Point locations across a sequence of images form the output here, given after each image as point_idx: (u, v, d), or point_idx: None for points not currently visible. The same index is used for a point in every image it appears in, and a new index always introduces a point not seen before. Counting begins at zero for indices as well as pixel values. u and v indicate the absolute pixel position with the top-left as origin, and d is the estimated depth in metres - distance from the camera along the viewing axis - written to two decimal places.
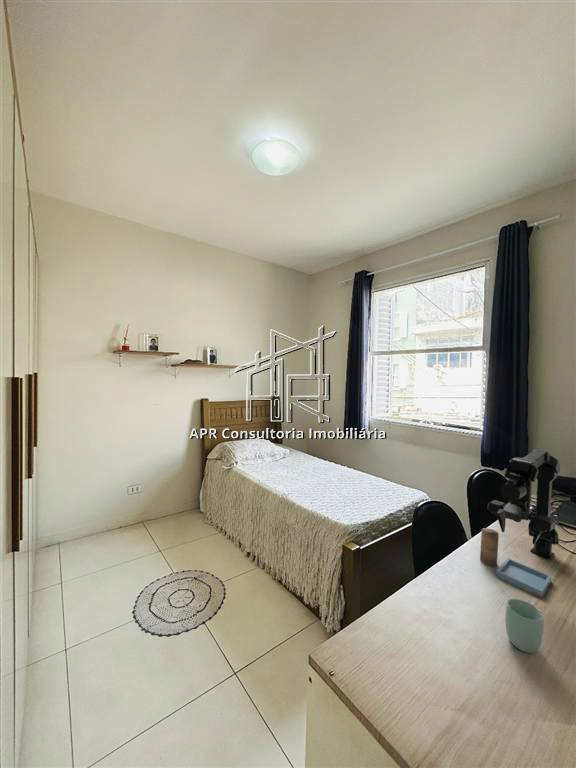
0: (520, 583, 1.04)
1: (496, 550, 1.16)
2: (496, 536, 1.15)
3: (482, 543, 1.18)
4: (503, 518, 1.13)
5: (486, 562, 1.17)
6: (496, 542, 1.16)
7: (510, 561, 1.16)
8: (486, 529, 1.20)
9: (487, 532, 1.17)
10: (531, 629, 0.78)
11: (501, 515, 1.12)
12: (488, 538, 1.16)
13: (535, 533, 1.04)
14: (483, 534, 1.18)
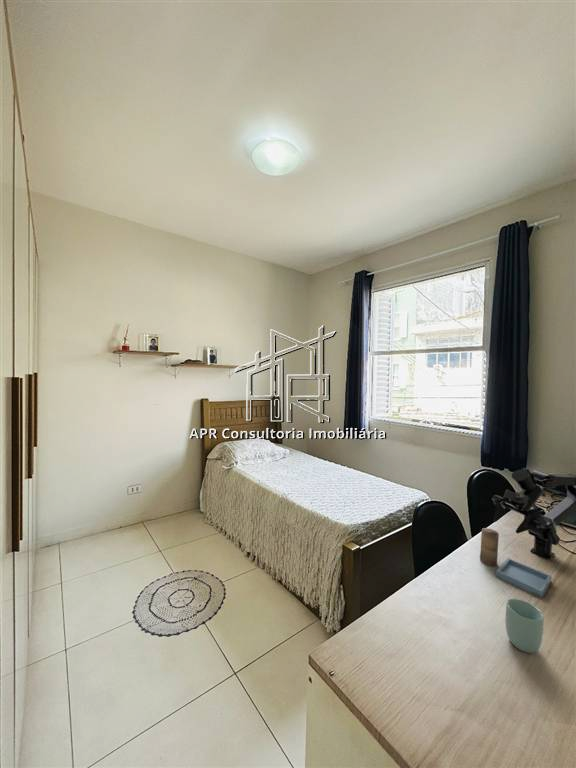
0: (520, 583, 1.04)
1: (496, 550, 1.16)
2: (496, 536, 1.15)
3: (482, 543, 1.18)
4: (501, 511, 1.25)
5: (486, 562, 1.17)
6: (496, 542, 1.16)
7: (510, 561, 1.16)
8: (486, 529, 1.20)
9: (487, 532, 1.17)
10: (531, 629, 0.78)
11: (501, 506, 1.25)
12: (488, 538, 1.16)
13: (523, 522, 1.15)
14: (483, 534, 1.18)
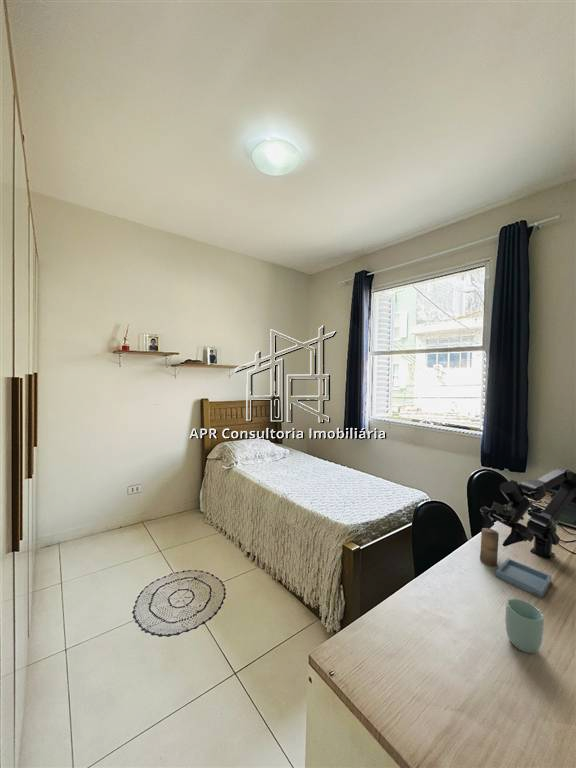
0: (520, 583, 1.04)
1: (496, 550, 1.16)
2: (496, 536, 1.15)
3: (482, 543, 1.18)
4: (489, 523, 1.24)
5: (486, 562, 1.17)
6: (496, 542, 1.16)
7: (510, 561, 1.16)
8: (486, 529, 1.20)
9: (487, 532, 1.17)
10: (531, 629, 0.78)
11: (488, 518, 1.24)
12: (488, 538, 1.16)
13: (510, 535, 1.14)
14: (483, 534, 1.18)
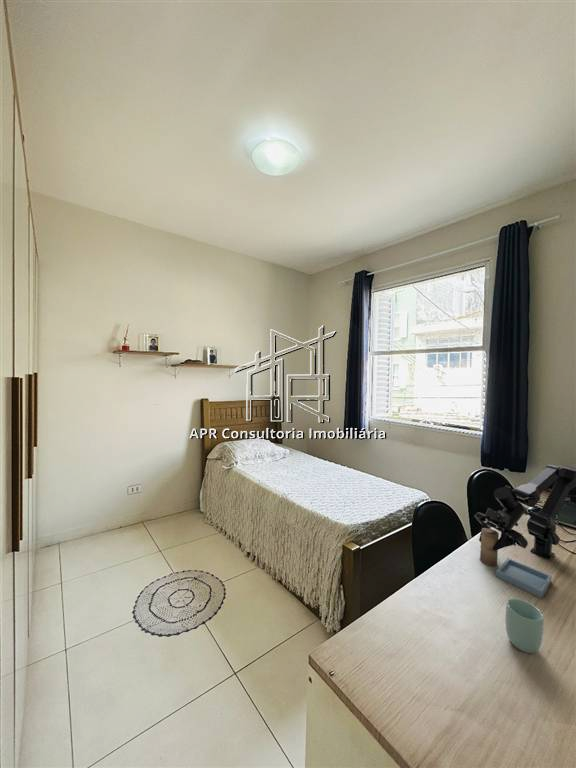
0: (520, 583, 1.04)
1: (496, 550, 1.16)
2: (496, 536, 1.15)
3: (482, 543, 1.18)
4: None
5: (486, 562, 1.17)
6: None
7: (510, 561, 1.16)
8: (486, 529, 1.20)
9: (487, 532, 1.17)
10: (531, 629, 0.78)
11: (486, 526, 1.22)
12: (488, 538, 1.16)
13: (499, 539, 1.15)
14: (483, 534, 1.18)
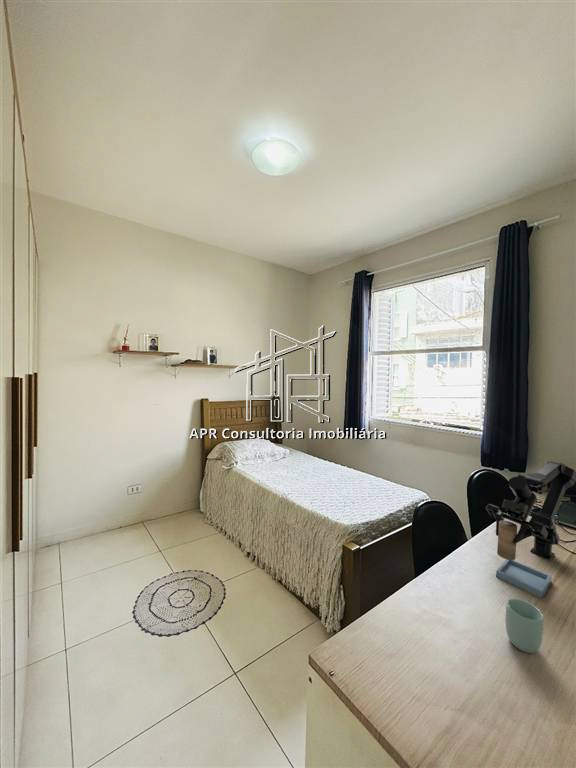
0: (520, 583, 1.04)
1: None
2: (516, 528, 1.10)
3: (501, 537, 1.12)
4: None
5: (506, 557, 1.11)
6: (516, 534, 1.10)
7: (510, 561, 1.16)
8: (503, 522, 1.14)
9: (506, 525, 1.11)
10: (531, 629, 0.78)
11: (501, 518, 1.17)
12: (508, 531, 1.10)
13: (519, 531, 1.10)
14: (502, 527, 1.12)
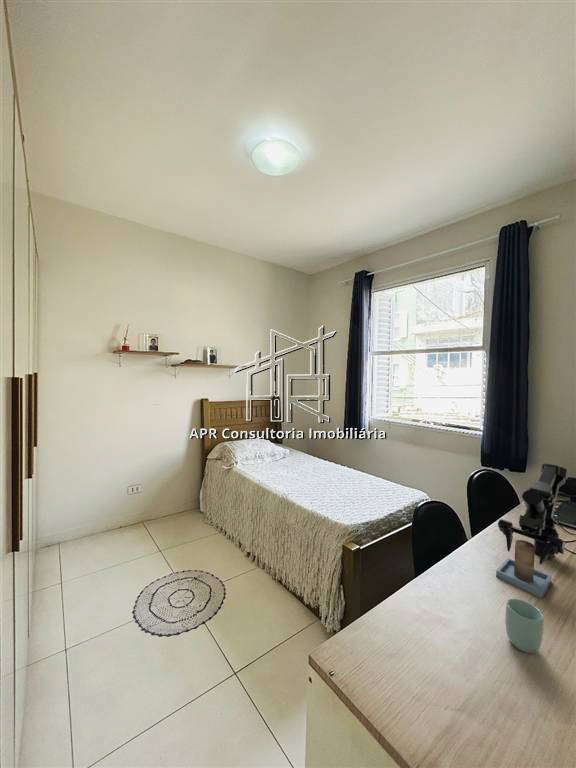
0: (520, 583, 1.04)
1: (533, 563, 1.07)
2: (534, 548, 1.06)
3: (519, 558, 1.07)
4: (511, 538, 1.14)
5: (526, 579, 1.06)
6: (534, 555, 1.06)
7: (510, 561, 1.16)
8: (519, 541, 1.10)
9: (524, 546, 1.07)
10: (531, 629, 0.78)
11: (510, 533, 1.14)
12: (528, 553, 1.06)
13: (544, 551, 1.05)
14: (521, 549, 1.07)
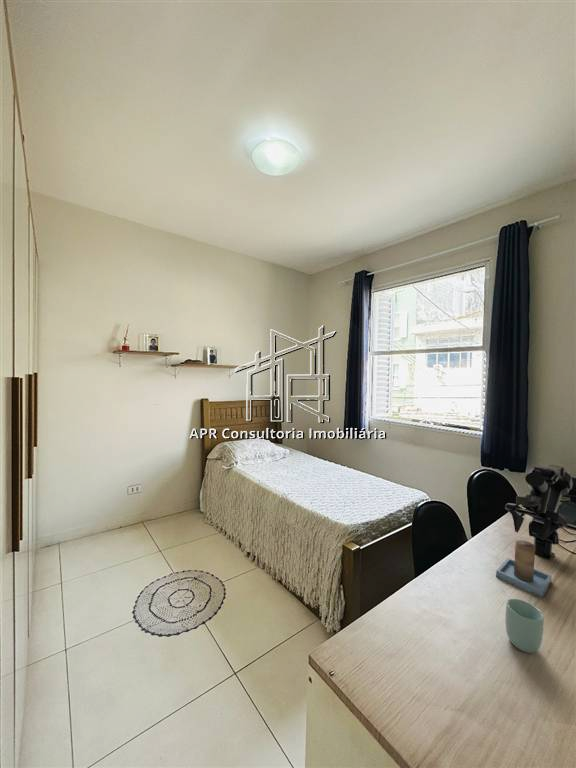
0: (520, 583, 1.04)
1: None
2: (534, 548, 1.06)
3: (519, 558, 1.08)
4: (519, 520, 1.20)
5: (525, 579, 1.06)
6: (534, 555, 1.07)
7: (510, 561, 1.16)
8: (519, 541, 1.10)
9: (525, 545, 1.07)
10: (531, 629, 0.78)
11: (517, 514, 1.20)
12: (528, 552, 1.06)
13: (544, 526, 1.10)
14: (521, 548, 1.07)
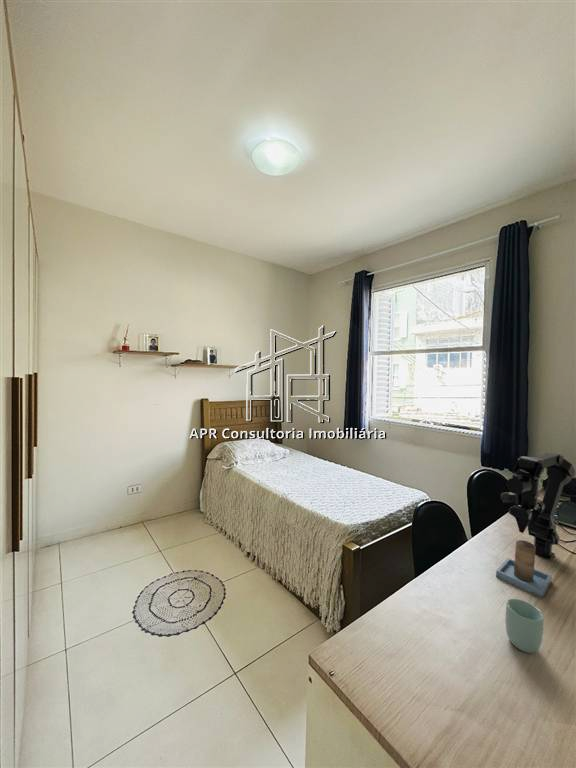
0: (520, 583, 1.04)
1: None
2: (535, 549, 1.06)
3: (519, 559, 1.07)
4: (531, 514, 1.21)
5: (525, 579, 1.06)
6: (534, 555, 1.06)
7: (510, 561, 1.16)
8: (520, 542, 1.09)
9: (525, 546, 1.07)
10: (531, 629, 0.78)
11: None
12: (528, 553, 1.06)
13: None
14: (521, 549, 1.07)
